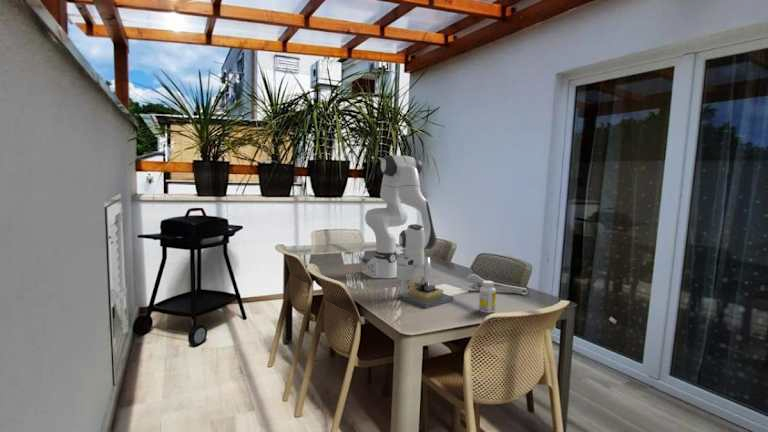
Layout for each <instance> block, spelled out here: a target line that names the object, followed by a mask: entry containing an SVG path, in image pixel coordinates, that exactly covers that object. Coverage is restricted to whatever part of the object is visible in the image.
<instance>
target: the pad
mask: <svg viewBox="0 0 768 432" xmlns="http://www.w3.org/2000/svg"><path fill="white" fill-rule="evenodd" d="M434 286H435V288H438V289H441V290H443V294H446V295H449V296H453V297H455V296H459V295H463V294H467V293H469V290H467V289H464V288H460V287H457V286H453V285H450V284H447V283H442V284H438V285H434Z"/></svg>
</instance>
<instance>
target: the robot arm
mask: <svg viewBox="0 0 768 432" xmlns="http://www.w3.org/2000/svg"><path fill="white" fill-rule="evenodd" d="M422 168H423V163H422V161H421V159H420V158H418V157H416V156H409V155H392V154H391V155H390V154H389V155H385V156H383V158H382V159H381V161H380V172H381V173H382V175H383V177H382V180H381V187H380V193H379V196H380V198H381V200H382V201H384V202H385V203H386V207H375V208H372V209H369V210H367V211H366V213H365V217H364V221H365V224H366V225H367V226H368V227H369V228H370V229H371V230H372V231H373V233H374V235H375V251H374V252H373V254H374V255H373V257H372V258H371V259H370V260H368V261H367V262H366V266H365V269H363V270H362V271H361V273H362V274H364V275H365V276H368V277H370V278H371V279H393V278H396V279H397V281H399V282H402V283H403V285H404V289H405V290H408V289H409V285H408V281H410V280H416V279H420V281H419V282H420V284H422V283H424V257H425V250H432V249H433V248H435V246H436V245H437V235H436V231H435V229H434V223H433V219H432V214H431V210H430V206H429V201H428V199H427V198H426V197H424V195H423V194H422V192H421V191H422V190H421V181H420V176H419V175H420V174H421V173H422ZM401 202H402V203H403V204H404V205H406V206H408V207H411V208H414V209H416V210H417V211H418V212H419V214H420V215H421V220H422V225H420V224H415V223H413V224H409V225H408V226H407V228H406V229H403V230H402V231H401V232H400V233H399V235H398V237H399V242H398V244H399V246H400V247H401V248H403V249H405V250H406V251H405V254H404V255H402V256H401V257H399V258H398V259H396V258H397V254H398V253H397V249H396V248H397V246H396V245H397V244H396V243H397V239H396V236H395V235H393V234H392V233H390V232H389V228H390V227H392V228H394V227H395V228H396V227H400V226H404V225H405V224H406V223H407V222H408V221H407V220H408V213H407V211H406V209H405V208H404V207H403V206H402V203H401ZM431 275H432V263H431V262H430V264H429V277H431Z"/></svg>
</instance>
